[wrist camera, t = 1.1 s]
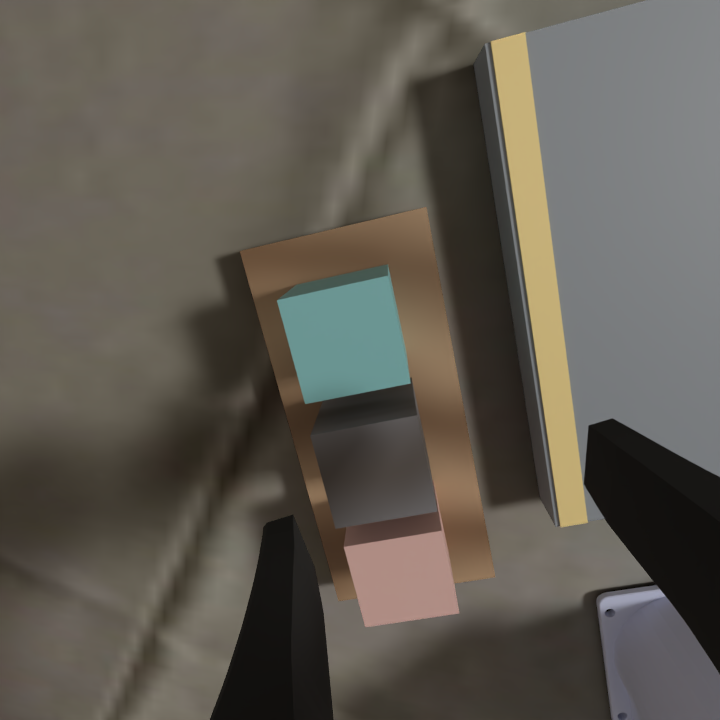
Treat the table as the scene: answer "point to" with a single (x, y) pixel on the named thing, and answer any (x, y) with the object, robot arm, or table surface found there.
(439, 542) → the crate rose
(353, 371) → the block
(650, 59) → the grey flat block
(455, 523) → the pallet
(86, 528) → the table surface
